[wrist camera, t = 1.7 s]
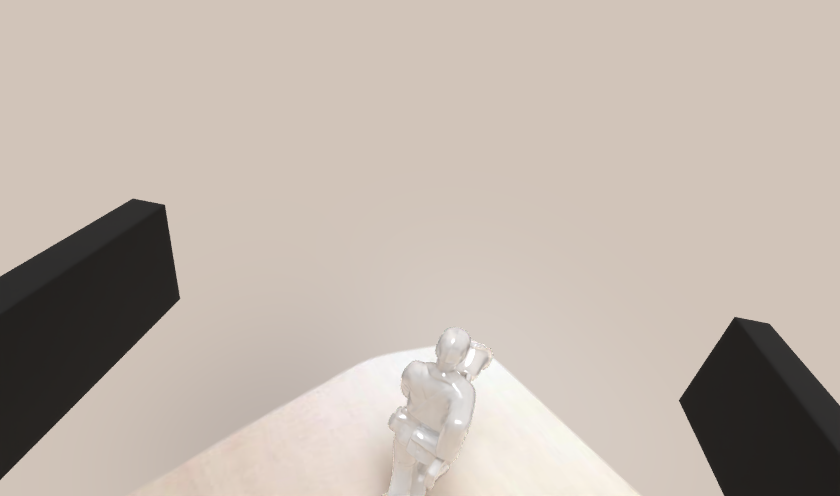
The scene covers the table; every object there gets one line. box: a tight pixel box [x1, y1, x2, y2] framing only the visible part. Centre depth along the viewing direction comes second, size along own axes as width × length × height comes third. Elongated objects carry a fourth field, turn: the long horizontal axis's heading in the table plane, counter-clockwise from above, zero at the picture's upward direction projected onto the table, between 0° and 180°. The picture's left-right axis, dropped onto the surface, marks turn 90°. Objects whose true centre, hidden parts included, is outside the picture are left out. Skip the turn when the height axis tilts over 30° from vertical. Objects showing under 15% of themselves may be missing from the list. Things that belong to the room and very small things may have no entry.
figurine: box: [382, 327, 493, 496], centre depth 23 cm, size 5×9×12 cm, turn 169°
